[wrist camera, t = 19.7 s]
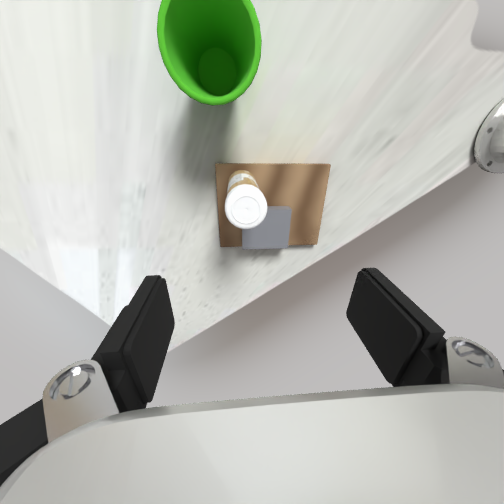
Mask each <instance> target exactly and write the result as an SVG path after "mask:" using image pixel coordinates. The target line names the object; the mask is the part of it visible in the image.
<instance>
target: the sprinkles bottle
mask: <svg viewBox="0 0 504 504" xmlns="http://www.w3.org/2000/svg"><path fill="white" fill-rule="evenodd" d="M225 213H226V216H227V218H228V220H229V221H230V222H231V223H232V224H233V225H234V226H236V227H238V228H241V229H251V228H254V227H256V226H258V225H259V224H260V223H261V222H262V221H263V220H264V218H265V217H266V214H267V202H266V199H265V197H264V195H263V193H262V192H261V191H260V190H259V187H258V185H257V183H256V180H255V178H254V176H253V175H252V174H251V173H250V172H248V171H245V170H238V171H235V172H234V173H233V174H232V175H231V176H230V178H229V180H228V189H227V197H226V200H225Z"/></svg>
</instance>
